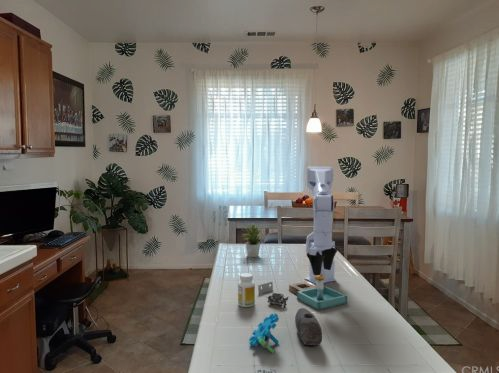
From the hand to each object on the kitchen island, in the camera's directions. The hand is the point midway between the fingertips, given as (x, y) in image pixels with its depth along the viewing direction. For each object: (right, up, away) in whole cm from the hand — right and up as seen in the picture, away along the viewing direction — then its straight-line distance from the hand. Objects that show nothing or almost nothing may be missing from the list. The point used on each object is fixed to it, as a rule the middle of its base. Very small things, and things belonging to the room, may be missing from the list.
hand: (322, 272), depth 123 cm
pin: (0, -9, +1) cm, 9 cm away
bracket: (-15, -10, +6) cm, 19 cm away
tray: (0, -10, +1) cm, 10 cm away
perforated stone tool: (-9, -12, -24) cm, 28 cm away
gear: (-20, -12, -28) cm, 37 cm away
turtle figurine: (-11, -11, -5) cm, 16 cm away
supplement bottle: (-25, -10, -2) cm, 27 cm away
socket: (-5, -9, +9) cm, 14 cm away
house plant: (-23, -6, +59) cm, 63 cm away
